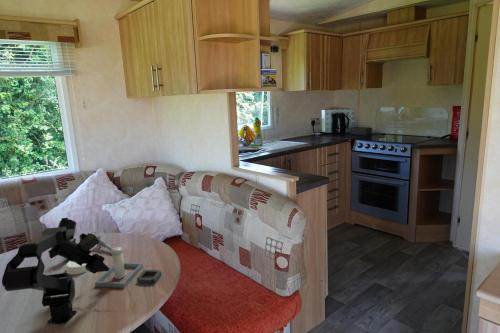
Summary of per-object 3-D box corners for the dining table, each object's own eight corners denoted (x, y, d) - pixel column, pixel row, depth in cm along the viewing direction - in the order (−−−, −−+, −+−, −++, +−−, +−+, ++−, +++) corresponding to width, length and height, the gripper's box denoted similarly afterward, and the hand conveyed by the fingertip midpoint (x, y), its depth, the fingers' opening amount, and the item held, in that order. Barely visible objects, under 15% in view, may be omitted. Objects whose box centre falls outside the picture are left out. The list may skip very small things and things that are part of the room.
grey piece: (154, 287, 132) (153, 281, 132) (134, 287, 133) (133, 280, 133) (164, 274, 142) (163, 268, 141) (145, 273, 143) (145, 268, 142)
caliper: (96, 247, 171) (95, 235, 169) (99, 246, 172) (97, 234, 170) (121, 257, 159) (119, 245, 158) (123, 256, 160) (121, 244, 158)
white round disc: (80, 276, 143) (79, 268, 142) (61, 273, 146) (60, 265, 146) (97, 265, 152) (96, 257, 152) (79, 262, 156) (78, 255, 155)
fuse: (122, 279, 138) (119, 251, 135) (112, 279, 139) (109, 251, 136) (127, 274, 142) (124, 247, 139) (118, 273, 143) (114, 246, 140)
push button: (63, 263, 155) (60, 243, 152) (61, 259, 159) (58, 239, 157) (79, 259, 159) (76, 238, 156) (77, 255, 163) (74, 235, 161)
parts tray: (124, 289, 132) (124, 283, 131) (95, 288, 134) (94, 282, 133) (143, 268, 147) (142, 263, 147) (116, 267, 149) (116, 262, 149)
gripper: (95, 235, 120) (127, 253, 131) (71, 224, 132) (102, 241, 142) (76, 265, 116) (110, 281, 126) (52, 251, 127) (86, 266, 138)
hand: (102, 266), depth 133 cm, fingers open, 9 cm apart
